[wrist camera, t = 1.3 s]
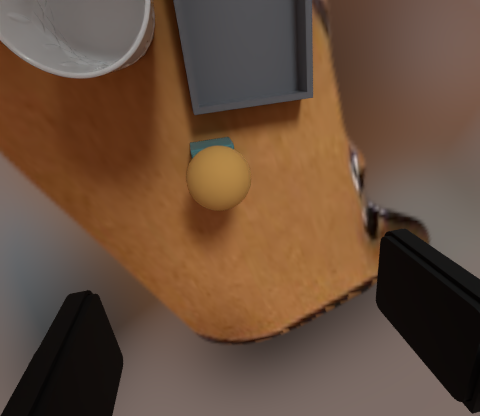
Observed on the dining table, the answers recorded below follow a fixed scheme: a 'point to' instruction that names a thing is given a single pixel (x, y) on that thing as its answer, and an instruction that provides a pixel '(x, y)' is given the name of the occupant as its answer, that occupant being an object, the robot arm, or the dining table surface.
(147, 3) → the white cup
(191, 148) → the block
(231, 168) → the ball
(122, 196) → the dining table surface
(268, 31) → the tray
